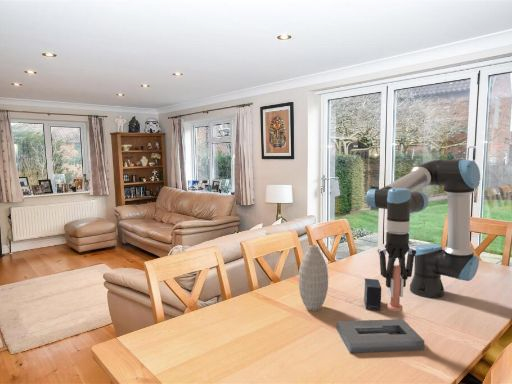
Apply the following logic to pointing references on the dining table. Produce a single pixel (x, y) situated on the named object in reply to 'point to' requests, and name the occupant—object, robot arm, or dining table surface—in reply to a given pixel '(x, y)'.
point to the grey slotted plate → (379, 336)
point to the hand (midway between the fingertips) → (395, 295)
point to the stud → (396, 290)
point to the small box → (372, 294)
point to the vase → (313, 279)
